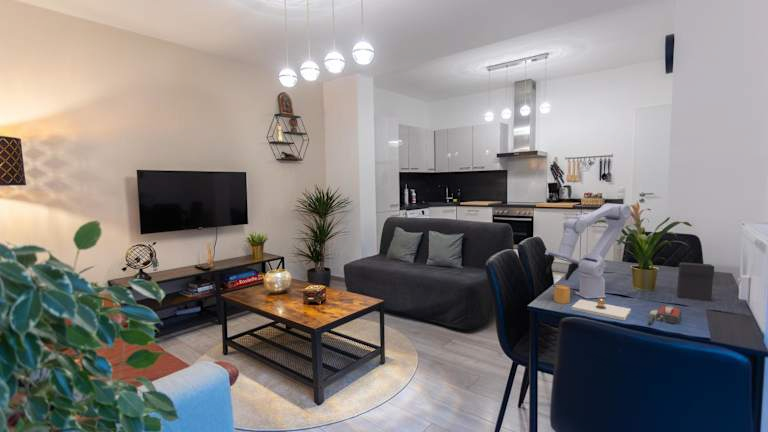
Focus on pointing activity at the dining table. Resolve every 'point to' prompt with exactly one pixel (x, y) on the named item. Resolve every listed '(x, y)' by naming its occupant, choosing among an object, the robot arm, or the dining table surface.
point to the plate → (601, 309)
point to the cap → (562, 293)
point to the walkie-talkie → (666, 314)
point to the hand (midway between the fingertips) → (556, 276)
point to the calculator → (695, 281)
